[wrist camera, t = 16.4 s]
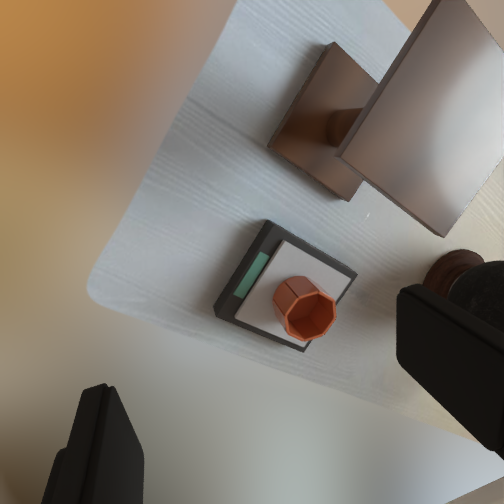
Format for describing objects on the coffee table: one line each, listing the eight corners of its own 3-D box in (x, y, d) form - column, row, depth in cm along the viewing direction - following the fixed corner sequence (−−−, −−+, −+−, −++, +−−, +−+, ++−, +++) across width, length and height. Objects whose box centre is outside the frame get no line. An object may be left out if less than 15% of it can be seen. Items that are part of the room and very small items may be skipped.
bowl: (275, 325, 41) (289, 347, 37) (268, 283, 39) (281, 301, 35) (320, 311, 42) (337, 331, 38) (315, 269, 40) (334, 285, 36)
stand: (266, 146, 36) (339, 157, 22) (327, 44, 34) (452, -19, 20) (342, 200, 41) (444, 238, 26) (399, 113, 39) (543, 103, 25)
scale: (212, 307, 41) (216, 319, 38) (267, 218, 39) (275, 225, 36) (296, 342, 47) (305, 355, 44) (348, 267, 45) (361, 276, 42)
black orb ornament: (408, 324, 51) (498, 394, 38) (426, 245, 47) (535, 292, 33) (474, 315, 55) (578, 376, 41) (497, 240, 50) (622, 281, 37)
